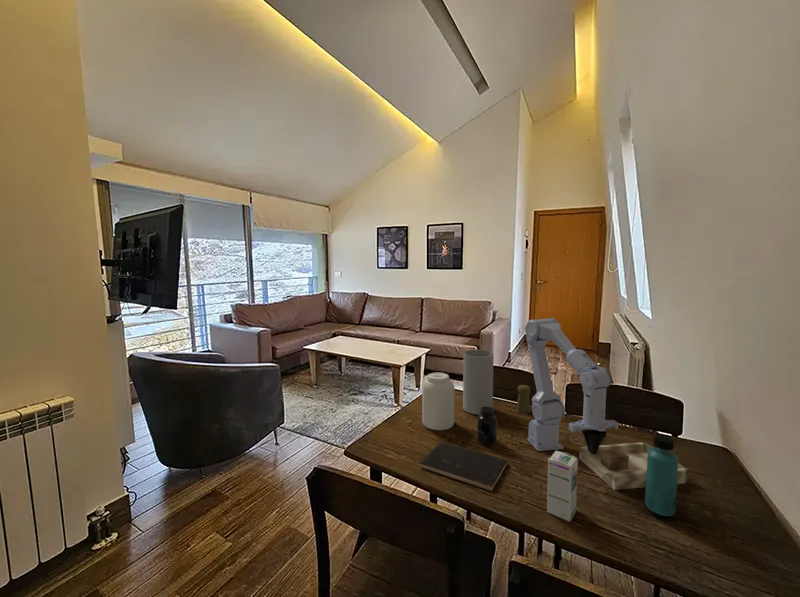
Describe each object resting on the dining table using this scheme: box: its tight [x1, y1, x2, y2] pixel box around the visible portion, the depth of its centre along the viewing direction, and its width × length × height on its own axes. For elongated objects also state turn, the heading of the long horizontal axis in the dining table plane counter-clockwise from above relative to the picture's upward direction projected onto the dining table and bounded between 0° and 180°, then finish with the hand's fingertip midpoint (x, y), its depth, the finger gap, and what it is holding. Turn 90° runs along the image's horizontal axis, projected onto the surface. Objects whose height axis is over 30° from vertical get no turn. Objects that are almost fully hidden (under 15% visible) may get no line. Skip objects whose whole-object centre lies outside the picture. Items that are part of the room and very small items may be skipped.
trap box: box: [578, 441, 690, 491], centre depth 109 cm, size 23×16×4 cm
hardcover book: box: [419, 440, 509, 491], centre depth 113 cm, size 16×23×2 cm
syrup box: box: [546, 450, 579, 523], centre depth 91 cm, size 6×6×14 cm
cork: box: [515, 384, 532, 415], centre depth 153 cm, size 6×6×11 cm
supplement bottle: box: [476, 407, 498, 447], centre depth 127 cm, size 7×7×12 cm
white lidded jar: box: [421, 371, 455, 431], centre depth 141 cm, size 12×12×20 cm
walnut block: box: [601, 449, 629, 471], centre depth 108 cm, size 6×4×4 cm, turn 97°
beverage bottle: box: [644, 434, 679, 517], centre depth 90 cm, size 6×7×20 cm
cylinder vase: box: [462, 349, 495, 416], centre depth 154 cm, size 12×12×25 cm
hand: (592, 452), depth 107 cm, fingers closed
